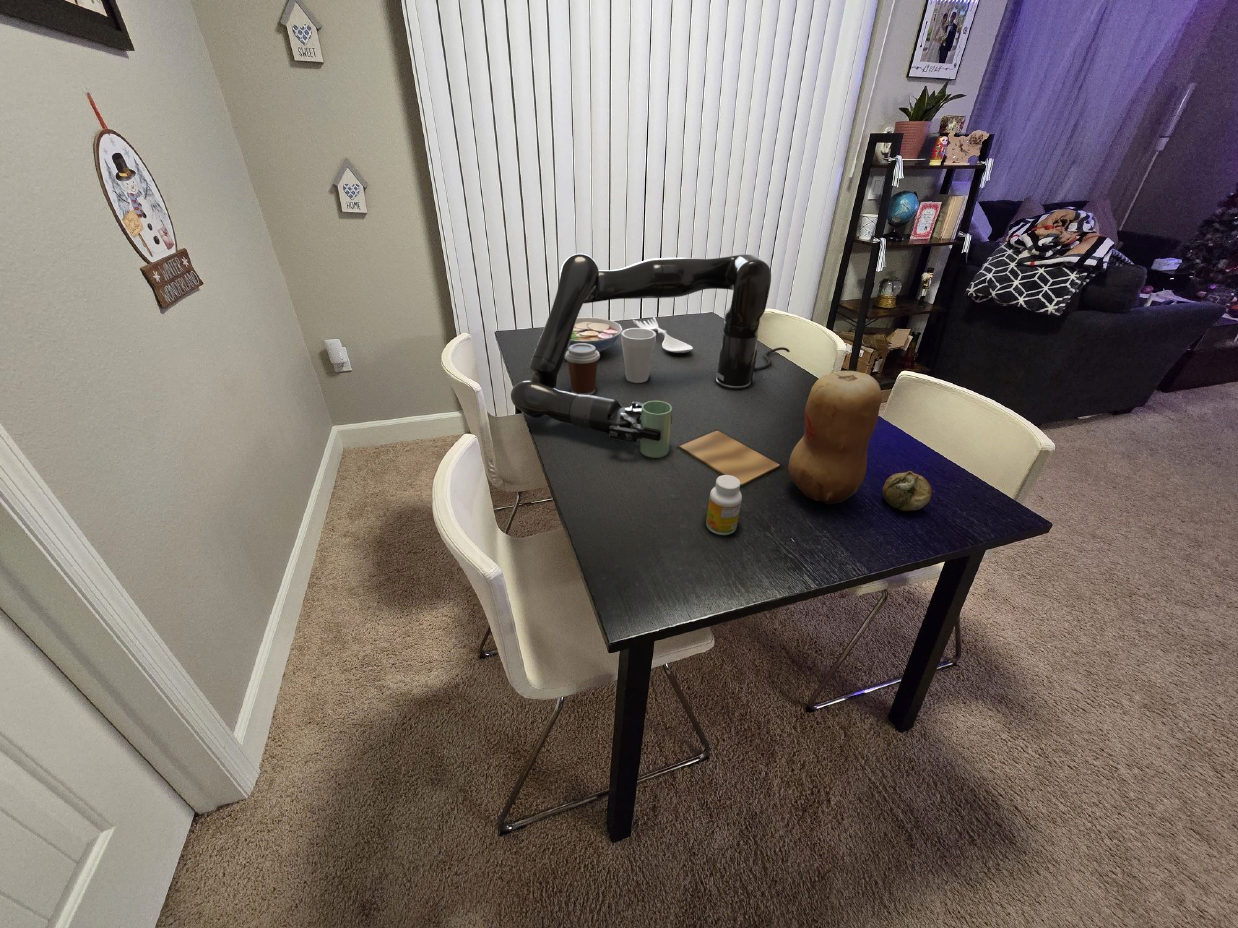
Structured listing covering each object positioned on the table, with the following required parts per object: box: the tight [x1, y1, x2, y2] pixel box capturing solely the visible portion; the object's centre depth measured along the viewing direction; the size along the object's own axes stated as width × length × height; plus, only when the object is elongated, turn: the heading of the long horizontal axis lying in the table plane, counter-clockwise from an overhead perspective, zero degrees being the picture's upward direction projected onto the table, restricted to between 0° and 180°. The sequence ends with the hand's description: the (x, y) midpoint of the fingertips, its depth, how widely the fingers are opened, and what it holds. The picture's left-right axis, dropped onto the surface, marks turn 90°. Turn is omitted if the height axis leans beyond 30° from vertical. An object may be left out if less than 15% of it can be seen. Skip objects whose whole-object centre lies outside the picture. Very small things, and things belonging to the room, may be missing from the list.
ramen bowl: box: [567, 316, 623, 353], centre depth 157 cm, size 25×23×8 cm
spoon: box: [632, 316, 694, 354], centre depth 167 cm, size 9×32×4 cm, turn 22°
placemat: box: [678, 430, 781, 487], centre depth 108 cm, size 18×12×1 cm, turn 37°
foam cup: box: [620, 327, 657, 384], centre depth 139 cm, size 10×9×13 cm
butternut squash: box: [787, 370, 883, 505], centre depth 90 cm, size 14×13×25 cm
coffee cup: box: [564, 343, 601, 395], centre depth 132 cm, size 9×9×12 cm
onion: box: [882, 470, 933, 512], centre depth 92 cm, size 8×8×8 cm
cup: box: [639, 400, 673, 459], centre depth 107 cm, size 6×6×10 cm
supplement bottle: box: [705, 474, 743, 536], centre depth 86 cm, size 5×5×10 cm
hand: (666, 428), depth 106 cm, fingers closed on cup, 6 cm apart
